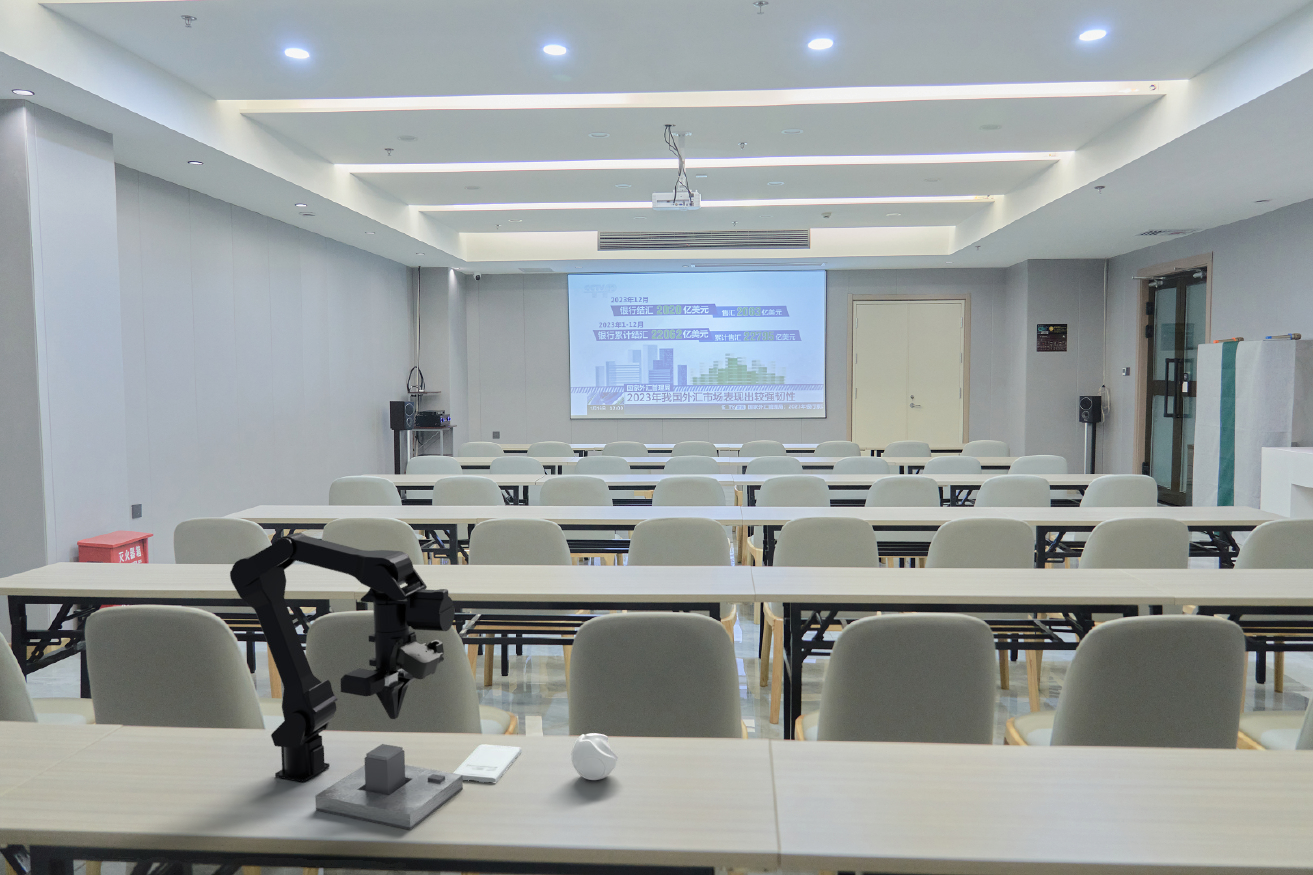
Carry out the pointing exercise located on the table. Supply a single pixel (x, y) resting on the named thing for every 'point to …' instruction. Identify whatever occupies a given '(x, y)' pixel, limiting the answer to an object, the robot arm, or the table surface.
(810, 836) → the table surface
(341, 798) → the socket
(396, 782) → the plug
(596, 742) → the motion sensor
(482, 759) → the external hard drive
